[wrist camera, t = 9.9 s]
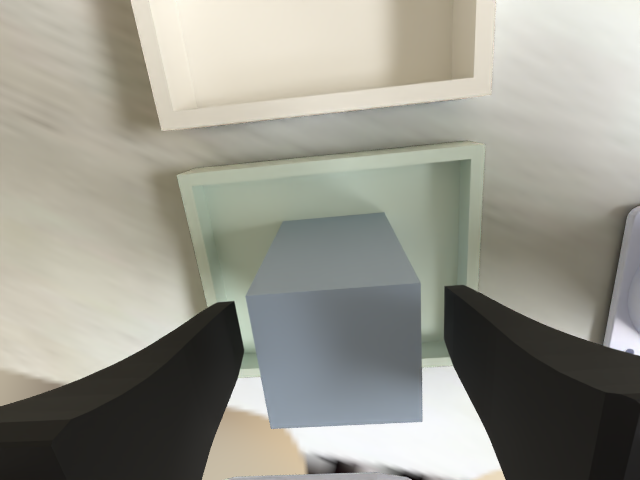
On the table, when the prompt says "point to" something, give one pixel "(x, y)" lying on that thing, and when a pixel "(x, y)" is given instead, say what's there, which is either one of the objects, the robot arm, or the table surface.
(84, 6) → the table surface
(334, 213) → the tray
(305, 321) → the block
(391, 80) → the white square bin
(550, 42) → the table surface
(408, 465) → the table surface
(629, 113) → the table surface
